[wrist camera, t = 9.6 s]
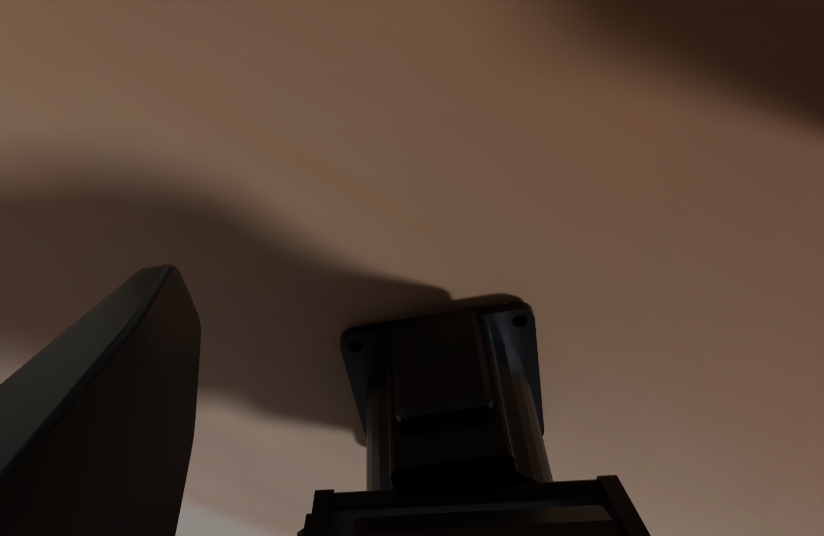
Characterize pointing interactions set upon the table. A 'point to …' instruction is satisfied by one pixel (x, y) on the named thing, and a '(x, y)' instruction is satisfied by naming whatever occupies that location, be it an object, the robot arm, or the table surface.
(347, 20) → the table surface
